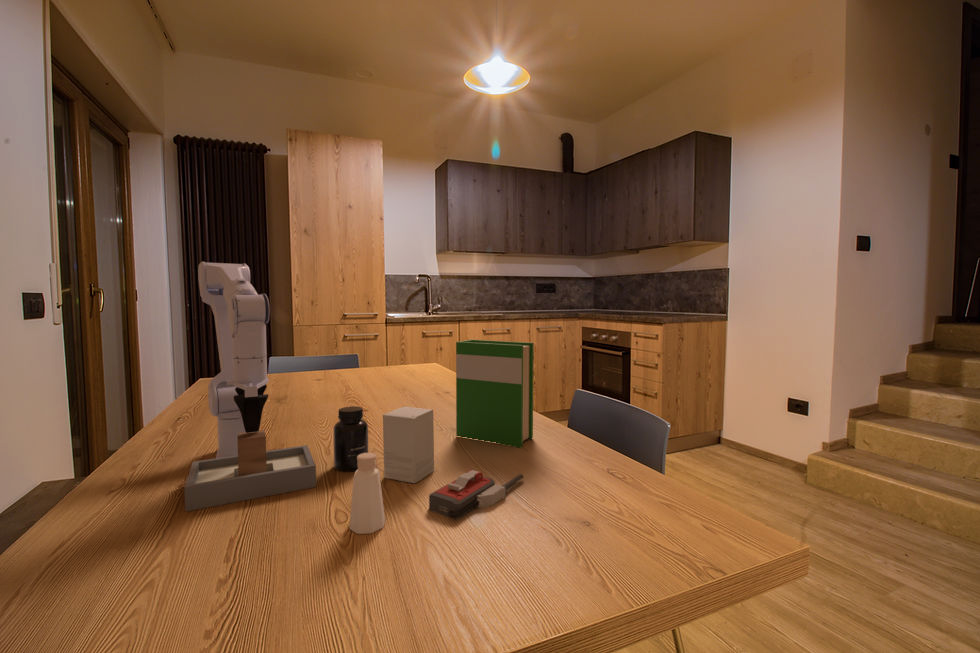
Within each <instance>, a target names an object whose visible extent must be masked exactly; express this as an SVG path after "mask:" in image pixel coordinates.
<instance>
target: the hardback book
mask: <svg viewBox="0 0 980 653" xmlns="http://www.w3.org/2000/svg"><path fill="white" fill-rule="evenodd" d="M455 343H456V344H455V374H456V375H455V376H456V377H455V378H456V380H455V381H456V382H455V386H456V389H455V390H456V391H455V394H456V395H455V397H456V398H455V399H456V400H455V401H456V404H455V406H456V408H455V409H456V411H455V413H456V419H455V420H456V423H455V425H456V428H455V429H456V431H455V432H456V436H461V437H467V438H472V439H478V440H484V441H490V442H496V443H500V444H499V445H501V444H505V445H504V446H507V445H511V446H510V447H513V446H516V447H515V448H519V447H522V446H523V445H524V441H525V440H528V439H532V438H533V439H534V350H535V349H534V347H535V346H534V343H535V342H527V341H525V342H524V341H507V340H506V341H505V340H490V339H489V340H485V339H483V340H482V339H467V340H460V341H456V342H455ZM456 436H455V437H456ZM527 438H528V439H527ZM533 439H532V440H533ZM523 447H524V446H523ZM523 447H522V448H523Z"/></svg>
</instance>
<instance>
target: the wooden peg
mask: <svg viewBox="0 0 980 653" xmlns="http://www.w3.org/2000/svg"><path fill="white" fill-rule="evenodd" d="M266 437H267V436H266V429H262V430H260V429H259V431H258V432H250V433H246V432H243V433H238V438H237V444H238V473H239V476H245V475H251V474H257V473H263V472H267V463H266V451H267V438H266Z"/></svg>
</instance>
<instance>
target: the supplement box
mask: <svg viewBox="0 0 980 653" xmlns="http://www.w3.org/2000/svg"><path fill="white" fill-rule="evenodd" d="M382 431H383V432H382V437H383V441H382V442H383V477H384V479H390V480H394V481H395V480H396V481H400V482H404V483H410V484H416V483H417V482H419V481H421V480H423V479H424V478H425V477H427V476H428V475H430V474H432V473H433V472H434V471H435V452H434V451H435V447H434V446H435V445H434V444H435V442H434V441H435V439H434V435H435V434H434V409H429V408H421V407H419V408H418V407H414V406H413V407H411V406H402V407H399V408H397V409H394V410H391V411H389V412H386V413H384V414H382Z"/></svg>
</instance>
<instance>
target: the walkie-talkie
mask: <svg viewBox="0 0 980 653" xmlns="http://www.w3.org/2000/svg"><path fill="white" fill-rule="evenodd" d="M483 474H484V473H482V472H481V471H477V470H472V469H470V470H467V471H466V472H464V473H463V474H461V475H459V476H457V478H456V479H455V480H453V481H451V482H449V483H448V484H446V485H444V486H442V487H440V488H438V489H437V490H435V491H433V492H431V493H429V494H428V500H429V501H428V504H429V506H428V507H429V508H428V509H429V510H428V511H431V512H434V513H436V514H438V515H442V516H445V517H448V518H451V519H453V520H457V519H461V518H462V517H464V516H465V515H467V514H468V513H469V512H471V511H473V510H475V508H479V509H480V508H488V507H492V506H493V505H495V504H496V503H498V502H500V501H501V500H503V499H505V498H506V492H507V490H509V489H510V488H512V487H513V486H515V485H516V484H517V483H518V482H519V481H521V480H522V479H524V475H523V474H522V473H519V474H518V475H516V476H515V477H513V478H512V479H511V480H509V481H507V482H505V483H504V484H501V485H500V484H496V482H495V480H494V479H493V478H491V477H488V476H487V477H486V476H484V475H483Z"/></svg>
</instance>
